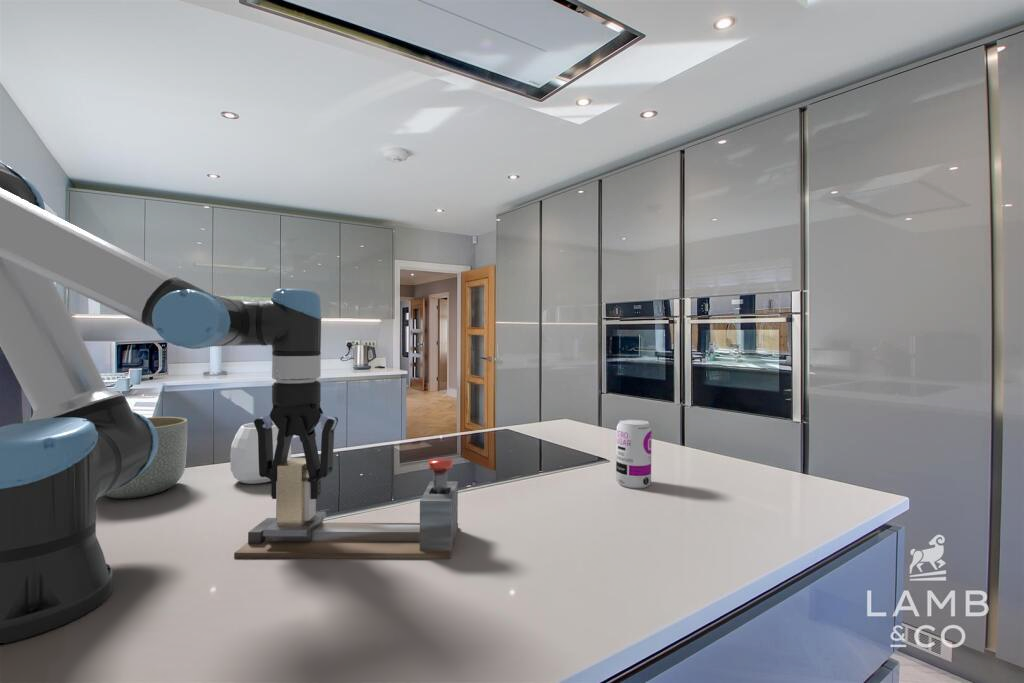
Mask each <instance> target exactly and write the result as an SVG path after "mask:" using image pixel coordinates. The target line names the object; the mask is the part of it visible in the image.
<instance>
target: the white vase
mask: <svg viewBox="0 0 1024 683" xmlns="http://www.w3.org/2000/svg"><path fill="white" fill-rule="evenodd" d="M278 430H279V429H278V428H277V426H276V425H275V424H274V422H273V426H272V436H273V460H274V455H275V451H276V446H277V435H278ZM229 457H230V458H229V459H230V460H229V462H230V471H231V474H232V476H233V477H234V479H236V481H237V480H238V482H240V483H242V484H251V485H252V484H263V483H264V484H265V483H269V482H271V480H270V479H269V478H267V477H261V476H260V475H259V454H258V432H257V430H256V427H255V425H254V422H249V423H244V424H242V425H241V426H240V427H239V429H238V430H237V432H236V433H235V435H234V438H233V441H232V442H231V447H230V456H229ZM291 458H292V447H291V443H290V448H289V453H288V457H287V460H289V459H291Z"/></svg>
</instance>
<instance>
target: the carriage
mask: <svg viewBox="0 0 1024 683" xmlns="http://www.w3.org/2000/svg"><path fill="white" fill-rule="evenodd" d="M308 479H309V474H308V469H307V464H306V459H305V457H291V459H289V460H287V461H285V462H283V463H282V464H280V465H278V466H277V520H275V521H274V522H273V523H271V524H270V525H269V526H268V527H266V528H265V529H264V530H263V536H268V541H276V542H310V541H311V540H312V530H313V529H314V528H315V527H316V526H317V525H318V524H323V523H324V520H325V519H326V518H327V511H319V510H316V515H315V516H313V517H312V518H311V519H310V520H309V521H305V481H307V480H308Z"/></svg>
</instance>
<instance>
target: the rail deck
mask: <svg viewBox="0 0 1024 683" xmlns="http://www.w3.org/2000/svg"><path fill="white" fill-rule="evenodd" d="M458 487H459V482H458V481H447V494H433V480H432V481H429V483H428V484H427V487H426V489H425V490H424V493H423V495H422V496H421V498H420V500H419V522H323V524H318V525H317V526H316V527H315V528H314V529H313V530H312V540H311V541H310V542H276V541H268V536H263V530H264V529H265V528H266V527H268V526H269V525H270V524H271V523H273V522H274V521H275V520H276V517H267V518H265V519H263V520H262V521H261V522H259V523H258V524H257V525H256V526H254V527H253V528H252V529H250V530H249V531H247V542H246V543H244V544H243V545H242V546H241V547H240V548H238V549H237V550H235V552H234V553H233V556H234V557H233V558H234V559H235V558H236V559H418V560H419V559H423V560H424V559H433V560H434V559H438V560H439V559H442V560H443V559H444V560H445V559H451V557H452V556H451V555H452V552H453V548H454V545H455V542H456V537H457V532H458V529H459V523H458V518H459V516H458V513H459V512H458V509H459V507H458V506H459V504H458V503H459V500H458V498H459V488H458Z"/></svg>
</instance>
